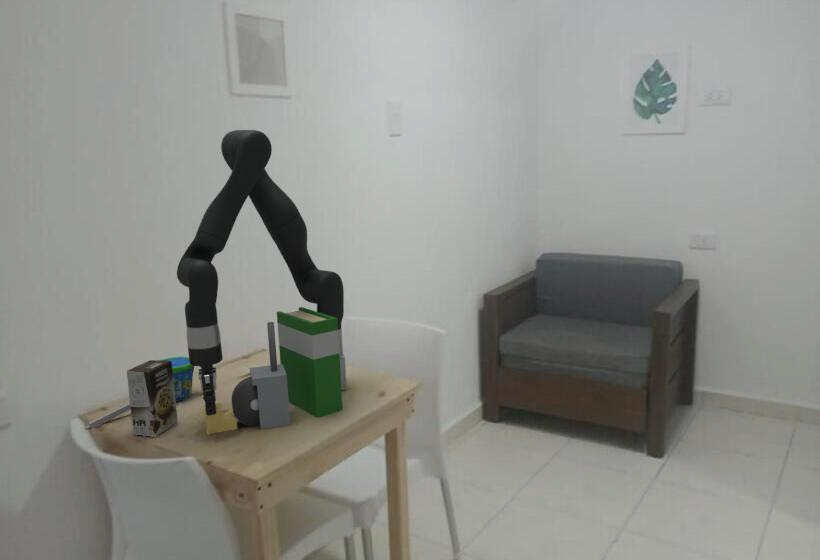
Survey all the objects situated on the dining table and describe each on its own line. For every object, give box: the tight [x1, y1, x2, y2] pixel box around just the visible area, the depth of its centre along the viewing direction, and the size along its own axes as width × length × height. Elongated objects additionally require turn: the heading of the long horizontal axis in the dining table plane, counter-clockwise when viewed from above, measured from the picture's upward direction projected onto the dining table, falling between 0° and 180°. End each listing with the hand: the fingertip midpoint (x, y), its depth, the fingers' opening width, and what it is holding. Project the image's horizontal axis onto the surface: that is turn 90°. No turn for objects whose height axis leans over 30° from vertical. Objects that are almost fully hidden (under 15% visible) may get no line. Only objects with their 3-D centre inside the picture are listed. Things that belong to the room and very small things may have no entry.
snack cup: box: [162, 356, 202, 402], centre depth 181 cm, size 16×10×10 cm
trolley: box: [231, 321, 291, 430], centre depth 160 cm, size 13×9×25 cm
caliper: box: [83, 402, 131, 431], centre depth 169 cm, size 20×1×6 cm, turn 138°
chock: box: [204, 402, 238, 434], centre depth 159 cm, size 7×5×6 cm
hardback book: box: [276, 306, 344, 419], centre depth 171 cm, size 18×7×24 cm, turn 39°
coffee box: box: [126, 359, 179, 438], centre depth 159 cm, size 9×6×16 cm
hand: (211, 408), depth 159 cm, fingers open, 8 cm apart
